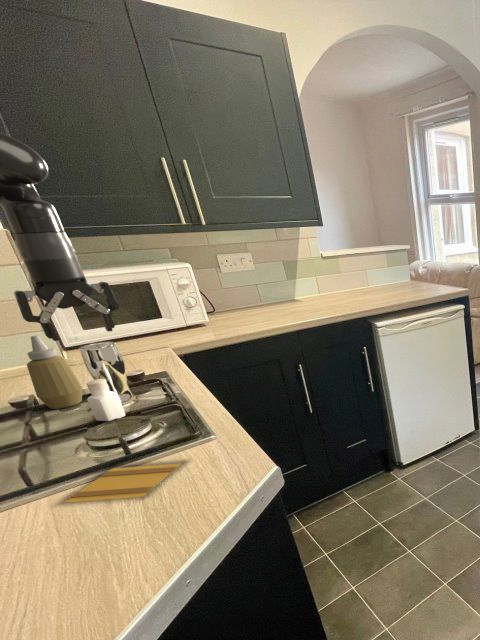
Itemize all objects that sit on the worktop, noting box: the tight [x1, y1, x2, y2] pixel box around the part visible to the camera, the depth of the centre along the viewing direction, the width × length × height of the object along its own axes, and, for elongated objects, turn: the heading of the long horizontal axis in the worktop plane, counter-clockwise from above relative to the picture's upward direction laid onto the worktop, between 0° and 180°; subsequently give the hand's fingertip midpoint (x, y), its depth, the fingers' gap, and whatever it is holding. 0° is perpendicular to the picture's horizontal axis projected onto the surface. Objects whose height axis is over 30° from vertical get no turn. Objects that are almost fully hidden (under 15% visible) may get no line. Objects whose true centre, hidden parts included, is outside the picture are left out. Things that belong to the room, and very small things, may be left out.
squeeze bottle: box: [26, 335, 83, 410], centre depth 103 cm, size 8×8×18 cm
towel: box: [64, 463, 181, 504], centre depth 73 cm, size 12×10×1 cm
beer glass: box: [78, 341, 137, 406], centre depth 105 cm, size 7×7×15 cm
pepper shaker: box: [86, 379, 126, 422], centre depth 96 cm, size 4×4×10 cm
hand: (83, 335), depth 89 cm, fingers open, 8 cm apart
